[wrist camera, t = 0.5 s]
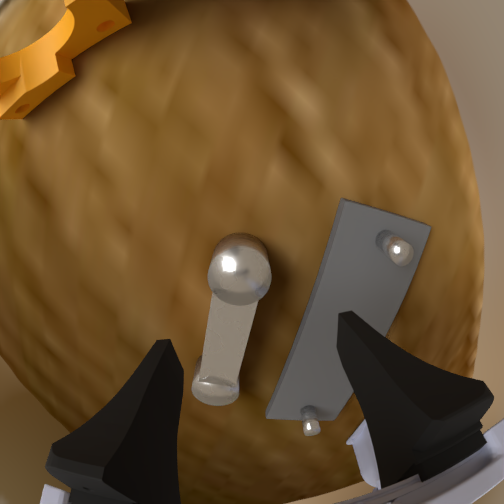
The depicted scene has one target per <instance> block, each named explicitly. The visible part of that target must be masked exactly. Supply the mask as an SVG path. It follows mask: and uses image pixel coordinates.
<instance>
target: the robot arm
mask: <svg viewBox="0 0 504 504" xmlns="http://www.w3.org/2000/svg"><path fill="white" fill-rule="evenodd" d="M336 348H337V351H338V354H339V357H340V360H341V364H342V367H343V369H344V371H345V373H346V375H347V378H348V380H349V382H350V384H351V386H352V388H353V390H354V393H355V395H356V397H357V399H358V401H359V404H360V406H361V408H362V411H363V414H364V417H365V419H364V421H363V422H362V423H361V425H360V426H359V427H358V428H357V429H356V431H355V432H354V433H353V434H352V436H351V437H350V438H349V439H348V440H347V442H346V443H347V444H348V445H350V444H353V448H354V451H355V454H356V458H357V461H358V465H359V468H360V472H361V475H362V477H363V479H364V480H365V481H366V482H367V483H368V484H369V485H371V486H373V487H376V488H374V489H373V492H372V493H368V494H366V495H362V496H359V497H356V498H353V499H349V500H346V501H342V502H338V503H334V504H472V503H473V502H474V501H476V500H477V499H479V498H480V497H482V496H483V495H484V494H486V493H487V492H488V491H489V490H491V489H492V488H493V487H495V486H496V485H497V484H498V483H499V482H501V481H502V480H503V479H504V419H502V420H501V421H499V422H498V423H497V424H495V425H494V426H492V427H491V428H490V429H488V430H487V431H486V432H485V433H484V434H482V432H481V431H480V429H481V428H482V426H483V425H482V424H481V422H480V419H481V418H482V417H483V416H484V414H485V413H486V411H487V410H488V409H489V408H490V406H491V404H492V403H493V400H494V396H493V394H492V393H491V391H490V390H489V388H488V387H487V386H486V384H485V383H484V382H483V381H480V380H476V379H472V378H467V377H463V376H460V375H457V374H454V373H450V372H448V371H445V370H442V369H440V368H437V367H435V366H433V365H431V364H428V363H426V362H424V361H422V360H420V359H418V358H417V357H415V356H413V355H411V354H409V353H408V352H406V351H404V350H403V349H401V348H400V347H398V346H397V345H395V344H394V343H392V342H391V341H390V340H388V339H387V338H386V337H384V336H383V335H382V334H380V333H379V332H378V331H376V330H375V329H374V328H373V327H371V326H370V325H369V324H368V323H367V322H365V321H364V320H363V319H362V318H360V317H359V316H358V315H357V314H356V313H354V312H353V311H352V310H351V311H346V312H342V313H338V330H337V345H336ZM183 382H184V370H183V368H182V366H181V363H180V361H179V359H178V357H177V354H176V352H175V350H174V347H173V345H172V342H171V340H170V339H164V340H157V341H156V342H155V344H154V345H153V346H152V348H151V349H150V351H149V352H148V353H147V355H146V356H145V358H144V359H143V361H142V362H141V364H140V365H139V366H138V368H137V369H136V370H135V372H134V373H133V375H132V376H131V377H130V378H129V380H128V381H127V382H126V383H125V385H124V386H123V387H122V388H121V390H120V391H119V392H118V393H117V394H116V395H115V396H114V397H113V399H112V400H111V401H110V402H109V403H108V404H107V405H106V406H105V407H104V408H102V409H101V410H100V411H99V412H98V413H97V414H96V415H94V416H93V417H92V418H91V419H90V420H89V421H87V422H86V423H85V424H83V425H82V426H81V427H79V428H78V429H76V430H75V431H73V432H72V433H70V434H69V435H67V436H65V437H64V438H62V439H60V440H58V441H57V442H55V443H53V444H52V446H51V449H50V453H49V456H48V459H47V462H46V466H45V468H46V470H47V471H48V472H49V473H50V474H51V475H52V476H54V477H55V478H57V479H58V480H60V481H61V482H63V483H64V484H66V485H67V486H69V487H70V488H71V493H69V492H66V491H64V490H62V489H59V488H56V487H53V486H50V485H48V484H45V485H44V490H43V493H42V498H41V502H40V504H181V501H180V494H179V483H178V470H177V433H178V425H179V418H180V411H181V404H182V396H183Z"/></svg>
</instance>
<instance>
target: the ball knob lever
mask: <svg viewBox="0 0 504 504" xmlns="http://www.w3.org/2000/svg"><path fill="white" fill-rule="evenodd" d="M208 283H209V286H210V288H211V290H212V292H213V294H212V300H211V306H210V312H209V318H208V324H207V330H206V336H205V343H204V349H203V354H202V355H201V356H200V357H199V358H198V360H197V362H196V367H195V373H194V378H193V383H192V393H193V395H194V396H195V397H196V398H197V399H198V400H200V401H201V402H203V403H206V404H209V405H215V406H222V405H227V404H230V403H232V402H234V401H235V400H236V399H237V398H238V396H239V371H240V367H241V363H242V360H243V356H244V352H245V349H246V345H247V341H248V337H249V334H250V330H251V326H252V323H253V319H254V315H255V311H256V307H257V304H258V300H260V299H261V298H262V297H263V296H264V295H265V294H266V293H267V291H268V289H269V287H270V284H271V270H270V265H269V259H268V254H267V250H266V248H265V246H264V245H263V243H262V242H261V241H260V240H259V239H258V238H256V237H255V236H253V235H250V234H247V233H234V234H230V235H228V236H226V237H224V238H223V239H222V240H221V241H220V242H219V243H218V244H217V246H216V247H215V250H214V253H213V256H212V260H211V264H210V267H209V271H208Z"/></svg>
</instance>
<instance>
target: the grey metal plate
mask: <svg viewBox="0 0 504 504" xmlns="http://www.w3.org/2000/svg"><path fill="white" fill-rule="evenodd" d="M430 230H431V226H429V225H427V224H425V223H422V222H419V221H416V220H413V219H410V218H407V217H404V216H401V215H398V214H395V213H391V212H388V211H385V210H382V209H378V208H375V207H372V206H368V205H365V204H361V203H358V202H354V201H351V200H347V199H344V198H341V199H340V203H339V206H338V210H337V213H336V217H335V220H334V224H333V227H332V231H331V234H330V237H329V241H328V244H327V247H326V250H325V254H324V257H323V260H322V263H321V266H320V269H319V272H318V275H317V278H316V281H315V284H314V287H313V290H312V293H311V296H310V299H309V302H308V305H307V308H306V310H305V313H304V316H303V319H302V321H301V324H300V327H299V330H298V332H297V335H296V338H295V340H294V343H293V346H292V348H291V351H290V353H289V356H288V359H287V361H286V364H285V366H284V369H283V371H282V374H281V376H280V378H279V381H278V383H277V386H276V388H275V391H274V393H273V395H272V398H271V400H270V402H269V405H268V407H267V409H266V418H268V419H284V420H302V424H303V429H304V434H305V435H307V436H313V435H316V434H318V433H319V432H320V427H319V422H318V420H335V418H336V417H337V416H338V414H339V413H340V411H341V410H342V408H343V407H344V405H345V404H346V402H347V401H348V399H349V398H350V396H351V395H352V393H353V392H354V390H353V388H352V386H351V384H350V382H349V380H348V378H347V375H346V373H345V371H344V369H343V367H342V364H341V360H340V357H339V354H338V351H337V348H336V345H337V330H338V313H342V312H346V311H351V310H352V311H353V312H354V313H356V314H357V315H358V316H359V317H360V318H362V319H363V320H364V321H365V322H367V323H368V324H369V325H370V326H371V327H373V328H374V329H375V330H376V331H378V332H379V333H380V334H382V335H383V336H384V337H385V336H386V334H387V332H388V330H389V328H390V326H391V324H392V322H393V320H394V318H395V316H396V314H397V312H398V310H399V307H400V305H401V303H402V301H403V299H404V297H405V294H406V292H407V290H408V287H409V285H410V283H411V280H412V278H413V275H414V273H415V271H416V268H417V266H418V263H419V260H420V258H421V255H422V252H423V250H424V247H425V244H426V241H427V238H428V236H429V233H430Z"/></svg>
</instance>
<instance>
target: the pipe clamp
mask: <svg viewBox="0 0 504 504" xmlns="http://www.w3.org/2000/svg"><path fill="white" fill-rule="evenodd" d="M64 1H65V7H66V8H68V9H67V11H66V13H65V15H64V16H63V18H62V19H61V20H60V22H59V23H58V24H57V25H56V26H55V27H54V28H53V29H52V30H51V31H49V32H48V33H47V34H46V35H45V36H43V37H42V38H41V39H39V40H38V41H36V42H35V43H33V44H31V45H30V46H28V47H26V48H24V49H22V50H20V51H18V52H16V53H13V54H11V55H8V56H5V57H1V58H0V120H2V119H23V118H24V117H25V116H26V115H27V114H28V113H29V112H31V111H32V110H33V109H34V108H35V107H36V106H37V105H39V104H40V103H41V102H42V101H43V100H45V99H46V98H47V97H48V96H50V95H51V94H52V93H53V92H55V91H56V90H57V89H59V88H60V87H61V86H63V85H64V84H65V83H67V82H68V81H69V80H71V79H72V78H74V77H75V76H76V75H75V72H74V68H73V64H72V59H73V58H75V57H76V56H77V55H79V54H80V53H82V52H83V51H85V50H86V49H88V48H89V47H91V46H92V45H94V44H96V43H97V42H99V41H101V40H102V39H104V38H105V37H107V36H109V35H111V34H112V33H114V32H116V31H118V30H119V29H121V28H123V27H125V26H127V25H129V24H131V23H132V22H131V19H130V16H129V13H128V10H127V7H126V4H125V1H124V0H64Z"/></svg>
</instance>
